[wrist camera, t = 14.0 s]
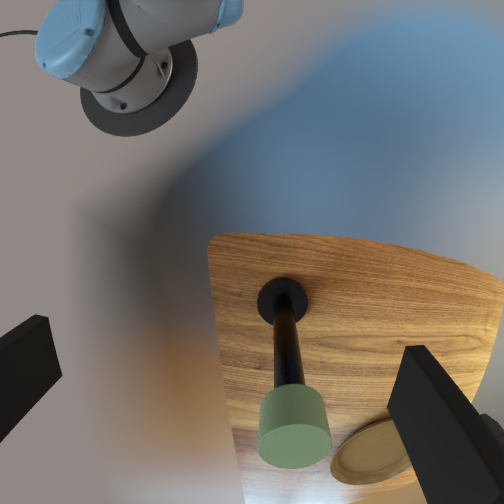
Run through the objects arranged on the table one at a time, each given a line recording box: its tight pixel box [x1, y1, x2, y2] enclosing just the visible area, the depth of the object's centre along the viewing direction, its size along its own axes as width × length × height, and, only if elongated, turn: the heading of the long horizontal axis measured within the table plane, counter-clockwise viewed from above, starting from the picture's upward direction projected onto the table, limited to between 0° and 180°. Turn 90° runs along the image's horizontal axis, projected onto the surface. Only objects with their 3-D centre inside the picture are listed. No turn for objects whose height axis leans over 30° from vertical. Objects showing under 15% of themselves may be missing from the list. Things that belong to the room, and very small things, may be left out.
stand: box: [257, 278, 308, 389], centre depth 37 cm, size 8×8×26 cm
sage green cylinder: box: [258, 384, 332, 469], centre depth 22 cm, size 6×6×5 cm
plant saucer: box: [330, 418, 412, 485], centre depth 55 cm, size 24×24×3 cm
